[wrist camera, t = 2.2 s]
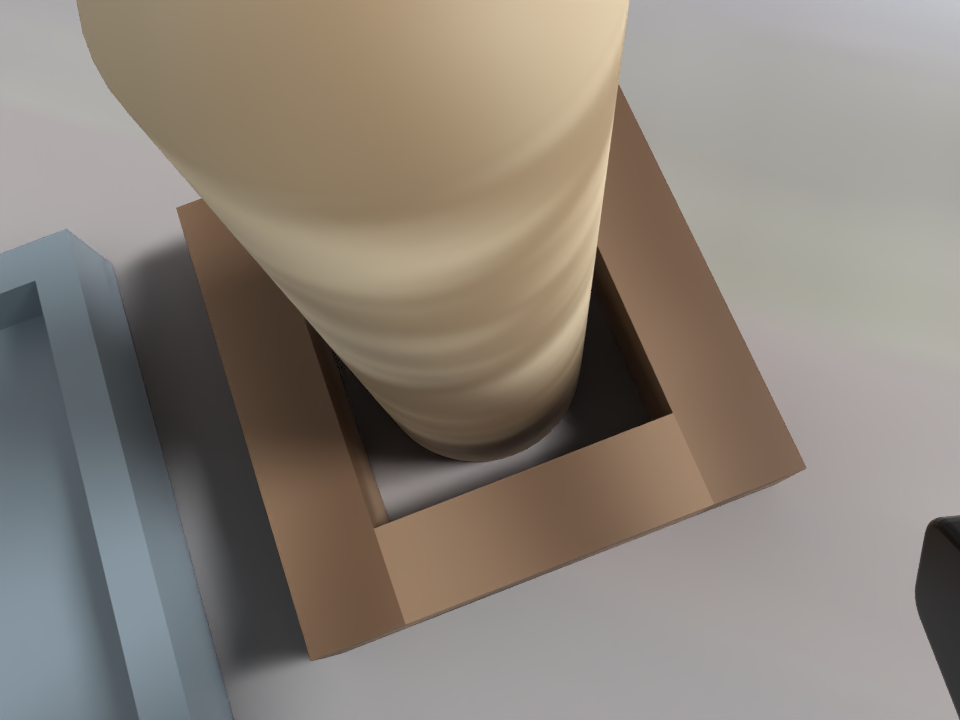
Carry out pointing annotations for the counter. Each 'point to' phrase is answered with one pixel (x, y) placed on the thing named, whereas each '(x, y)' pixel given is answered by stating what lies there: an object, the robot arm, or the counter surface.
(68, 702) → the tray
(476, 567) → the socket block
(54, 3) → the counter surface
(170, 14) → the dowel
